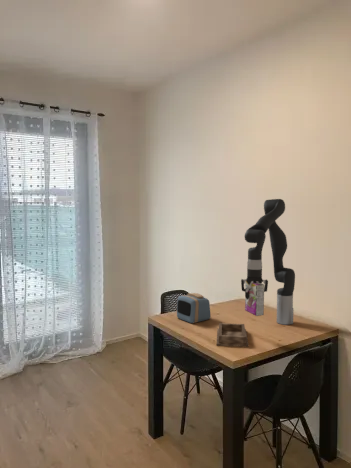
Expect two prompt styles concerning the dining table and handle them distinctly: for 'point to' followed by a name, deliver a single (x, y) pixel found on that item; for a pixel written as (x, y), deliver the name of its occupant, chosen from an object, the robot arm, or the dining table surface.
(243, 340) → the walnut slot stand
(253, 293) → the candy bar box
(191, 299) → the alarm clock
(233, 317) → the dining table surface
